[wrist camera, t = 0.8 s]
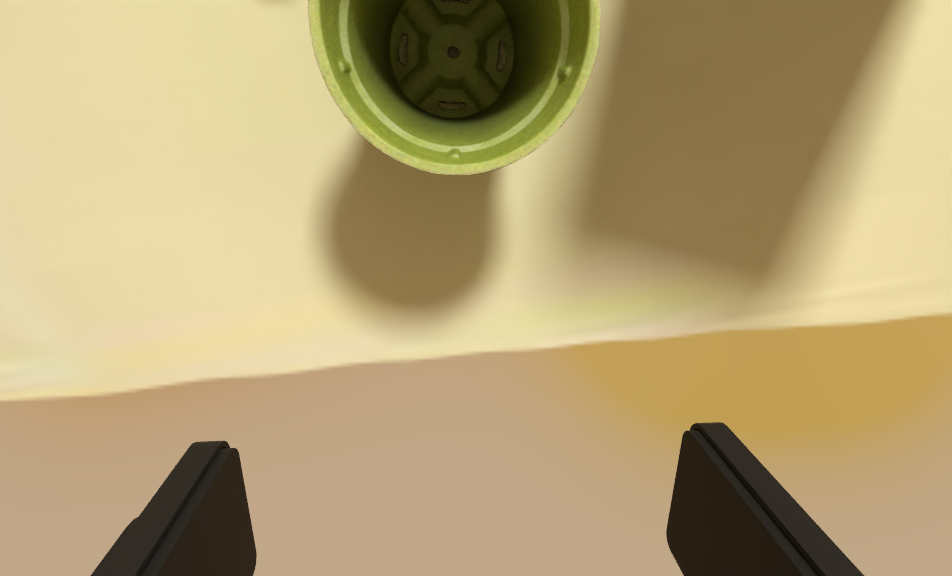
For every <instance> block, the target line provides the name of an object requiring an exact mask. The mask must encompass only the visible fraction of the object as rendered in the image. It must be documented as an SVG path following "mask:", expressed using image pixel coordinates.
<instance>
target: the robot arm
mask: <svg viewBox="0 0 952 576" xmlns="http://www.w3.org/2000/svg"><path fill="white" fill-rule="evenodd" d="M667 542H668V545H669V548H670V550H671V552H672V554H673V556H674V558H675V560H676V561H677V563H678V566H679V567H680V569H681V571H682V573H683V575H684V576H864V575H863V574H862V573H861V572H860V571H859V570H858V569H857V568H856V566H855V565H854V564H853V563H852V562H851V561H850V560H849V559H848V558H847V557H846V556H845V554H844V553H843V552H842V551H841V550H840V549H839V548H838V547H837V546H836V545H835V544H834V542H833V541H832V540H831V539H830V538H829V537H828V536H827V535H826V534H825V533H824V531H823V530H821V528H820V527H819V526H818V525H817V524H816V523H815V522H814V521H813V520H812V519H811V517H810V516H809V515H808V514H807V513H806V512H805V511H804V510H803V509H802V508H801V506H800V505H799V504H798V503H797V502H796V501H795V500H794V499H793V498H792V497H791V496H790V494H789V493H788V492H787V491H786V490H785V489H784V488H783V487H782V486H781V485H780V484H779V482H778V481H777V480H776V479H775V478H774V477H773V476H772V475H771V474H770V473H769V472H768V470H767V469H766V468H765V467H764V466H763V465H762V464H761V463H760V462H759V461H758V459H757V458H756V457H755V456H754V455H753V454H752V453H751V452H750V451H749V450H748V449H747V447H746V446H745V445H744V444H743V443H742V442H741V441H740V440H739V439H738V438H737V437H736V435H735V434H734V433H733V432H732V431H731V430H730V429H729V428H728V427H727V426H726V425H725V424H724V423H720V422H719V423H695V424H693V425H692V426H691V429H690V431H685V432H684V434H683V437H682V443H681V449H680V454H679V460H678V466H677V472H676V478H675V484H674V490H673V496H672V501H671V507H670V513H669V519H668V525H667ZM255 566H256V548H255V542H254V536H253V531H252V525H251V519H250V514H249V508H248V502H247V497H246V491H245V485H244V479H243V474H242V468H241V462H240V457H239V452H238V450H237V449H236V448H230V446H229V444H228V443H227V442H226V441H208V442H195V443H193V444H192V445H191V446H190V447H189V448H188V450H187V451H186V452H185V454H184V455H183V457H182V458H181V459H180V461H179V462H178V464H177V465H176V466H175V468H174V469H173V470H172V472H171V473H170V474H169V476H168V477H167V479H166V480H165V481H164V483H163V484H162V485H161V487H160V488H159V490H158V491H157V492H156V494H155V495H154V496H153V498H152V499H151V501H150V502H149V503H148V505H147V506H146V507H145V509H144V510H143V512H142V513H141V514H140V516H139V517H137V518H136V519H134V520H133V521H132V522H131V523H130V524H129V525H128V526H127V527H126V529H125V530H124V531H123V533H122V534H121V535H120V537H119V538H118V540H117V541H116V542H115V543H114V545H113V546H112V548H111V549H110V551H109V552H108V553H107V554H106V556H105V557H104V559H103V560H102V561H101V562H100V564H99V565H98V566H97V568H96V569H95V571H94V572H93V573H92V575H91V576H253V573H254V570H255Z"/></svg>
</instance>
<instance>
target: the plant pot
mask: <svg viewBox="0 0 952 576" xmlns="http://www.w3.org/2000/svg"><path fill="white" fill-rule="evenodd" d="M308 12H309V24H310V34H311V39H312V44H313V48H314V52H315V56H316V60H317V63H318V66H319V69H320V71H321V74H322V76H323V79H324V81H325V83H326V86H327V88H328V90H329V92H330V94H331V95H332V97H333V99H334V101H335V102H336V104H337V106H338V107H339V109H340V110H341V111H342V113H343V114H344V116H345V117H346V118H347V119H348V121H349V122H350V123H351V124H352V125H353V126H354V128H355V129H356V130H357V131H358V132H359V133H360V134H361V135H362V136H363V137H364V138H365V139H366V140H367V141H368V142H370V143H371V144H372V145H373V146H374V147H376V148H377V149H378V150H380V151H381V152H383V153H384V154H386V155H387V156H389V157H391V158H393V159H395V160H397V161H398V162H400V163H403V164H405V165H407V166H410V167H413V168H415V169H418V170H422V171H427V172H431V173H436V174H444V175H472V174H479V173H484V172H489V171H492V170H496V169H499V168H502V167H504V166H507V165H509V164H511V163H514V162H516V161H517V160H519V159H521V158H523V157H525V156H527V155H528V154H530V153H531V152H533V151H534V150H535V149H537V148H538V147H539V146H541V145H542V144H543V143H544V142H545V141H547V140H548V139H549V138H550V137H551V136H552V135H553V134H554V133H555V132H556V131H557V130H558V129H559V128H560V127H561V126H562V125H563V123H564V122H565V121H566V120H567V118H568V117H569V116H570V114H571V113H572V112H573V110H574V108H575V107H576V105H577V103H578V102H579V100H580V98H581V96H582V94H583V92H584V90H585V88H586V85H587V83H588V80H589V78H590V75H591V71H592V68H593V65H594V61H595V58H596V53H597V49H598V43H599V35H600V0H470V1H469V2H468V3H467V4H466V3H463V2H456V1H444V2H443V1H441V0H308ZM404 33H405V34H407V35H408V41H407V49H406V54H407V64H406V65H403V64H402V63H401V61H400V59H399V42H400V38H401V36H402V35H403V34H404ZM499 41H502V43H503V44H504V48H505V53H506V59H505V65H504V68H503V69H502V71H500V72H499V71H497V70H496V66H497V62H498V56H499V46H500V45H499ZM450 47H455V48H457V50H458V52H459V54H458V56H457V57H456V58H451V57H449V56H448V49H449V48H450ZM438 101H445V102H451V103H459V102H464V103H465V106H464V107H463V108H462V109H456V110H455V109H444V108H443V109H442V108H441V107H440V106H439V105H438Z"/></svg>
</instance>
